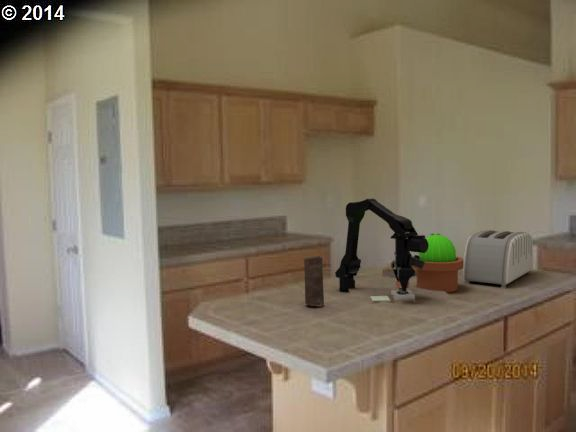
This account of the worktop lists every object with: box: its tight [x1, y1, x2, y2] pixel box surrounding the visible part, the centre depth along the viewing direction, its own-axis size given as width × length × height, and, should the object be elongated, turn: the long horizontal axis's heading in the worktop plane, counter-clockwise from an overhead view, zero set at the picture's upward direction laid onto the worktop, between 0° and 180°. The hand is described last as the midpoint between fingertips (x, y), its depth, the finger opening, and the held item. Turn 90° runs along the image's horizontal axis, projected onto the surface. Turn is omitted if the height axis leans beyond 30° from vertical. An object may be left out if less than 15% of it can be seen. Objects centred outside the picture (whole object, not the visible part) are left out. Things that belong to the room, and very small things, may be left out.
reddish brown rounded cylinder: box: [395, 280, 410, 294], centre depth 214 cm, size 5×5×7 cm
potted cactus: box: [412, 233, 464, 294], centre depth 236 cm, size 22×22×25 cm
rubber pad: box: [370, 296, 390, 301], centre depth 215 cm, size 7×7×1 cm
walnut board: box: [366, 294, 418, 304], centre depth 215 cm, size 18×13×2 cm
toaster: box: [462, 229, 534, 289], centre depth 257 cm, size 21×45×22 cm, turn 141°
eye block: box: [390, 289, 416, 301], centre depth 215 cm, size 8×8×2 cm
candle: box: [303, 255, 325, 308], centre depth 211 cm, size 8×7×20 cm
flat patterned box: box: [380, 266, 417, 279], centre depth 275 cm, size 35×14×6 cm, turn 136°
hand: (402, 289), depth 214 cm, fingers open, 7 cm apart
